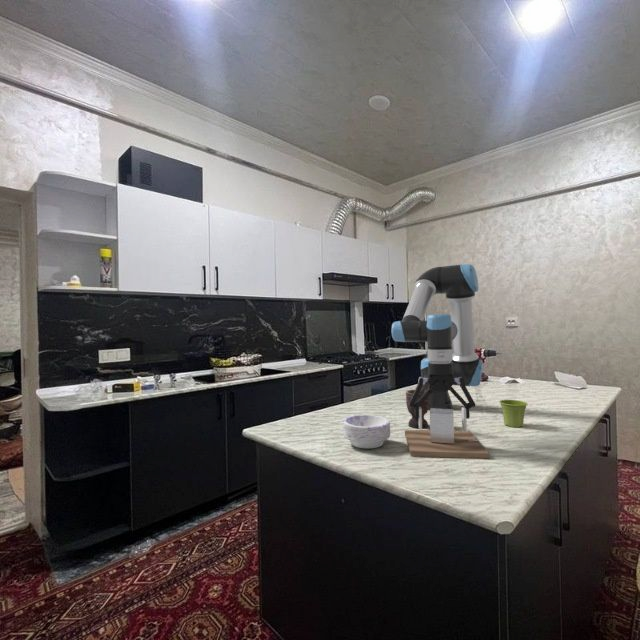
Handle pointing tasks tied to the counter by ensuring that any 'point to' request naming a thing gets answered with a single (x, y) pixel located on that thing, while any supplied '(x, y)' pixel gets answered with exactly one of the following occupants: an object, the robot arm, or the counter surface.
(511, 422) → the plant pot
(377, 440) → the paper bowls
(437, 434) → the grey block with bar
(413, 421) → the mortar and pestle
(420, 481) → the counter surface
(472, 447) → the board
